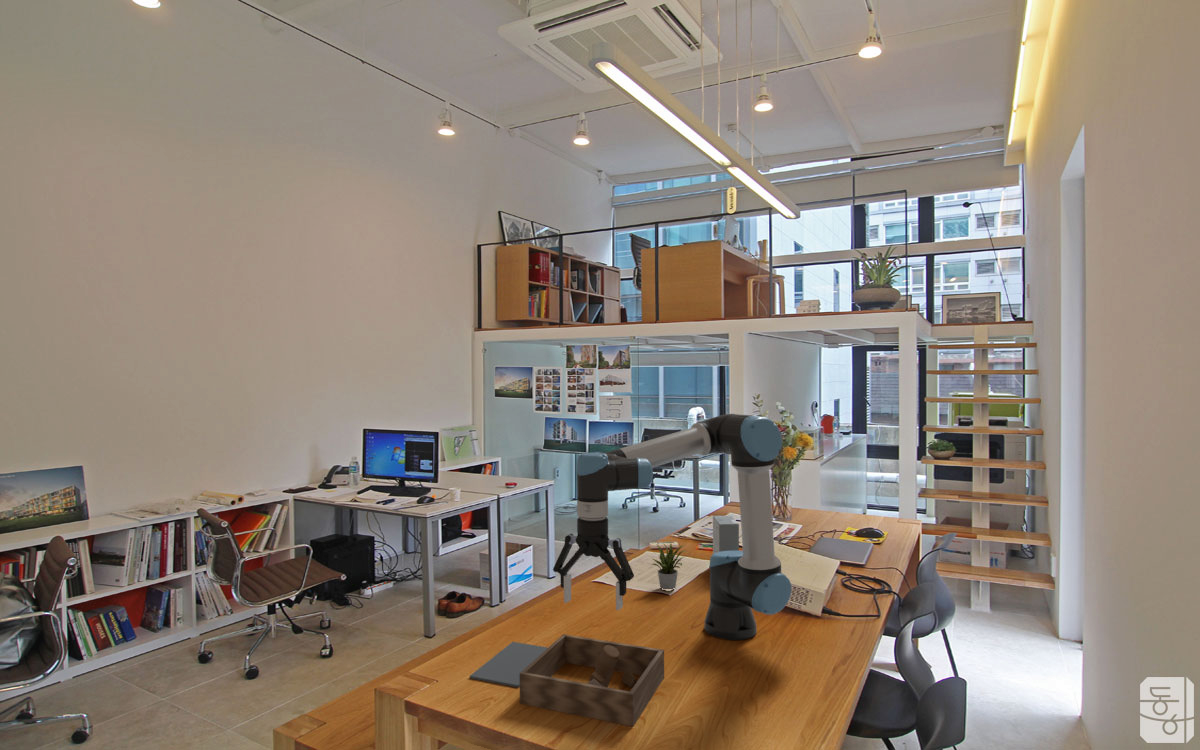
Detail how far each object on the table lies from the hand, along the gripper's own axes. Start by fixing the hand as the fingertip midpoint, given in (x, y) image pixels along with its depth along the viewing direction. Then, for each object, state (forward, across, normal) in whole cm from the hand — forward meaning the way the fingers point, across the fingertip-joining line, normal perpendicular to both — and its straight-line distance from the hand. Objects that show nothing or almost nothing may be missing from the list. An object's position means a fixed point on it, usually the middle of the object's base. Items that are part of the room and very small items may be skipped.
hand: (593, 604), depth 158 cm
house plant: (+21, -2, +77) cm, 79 cm away
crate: (+21, 0, 0) cm, 21 cm away
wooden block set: (+21, +3, -1) cm, 21 cm away
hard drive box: (+20, +12, +103) cm, 105 cm away
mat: (+21, -25, +6) cm, 33 cm away
